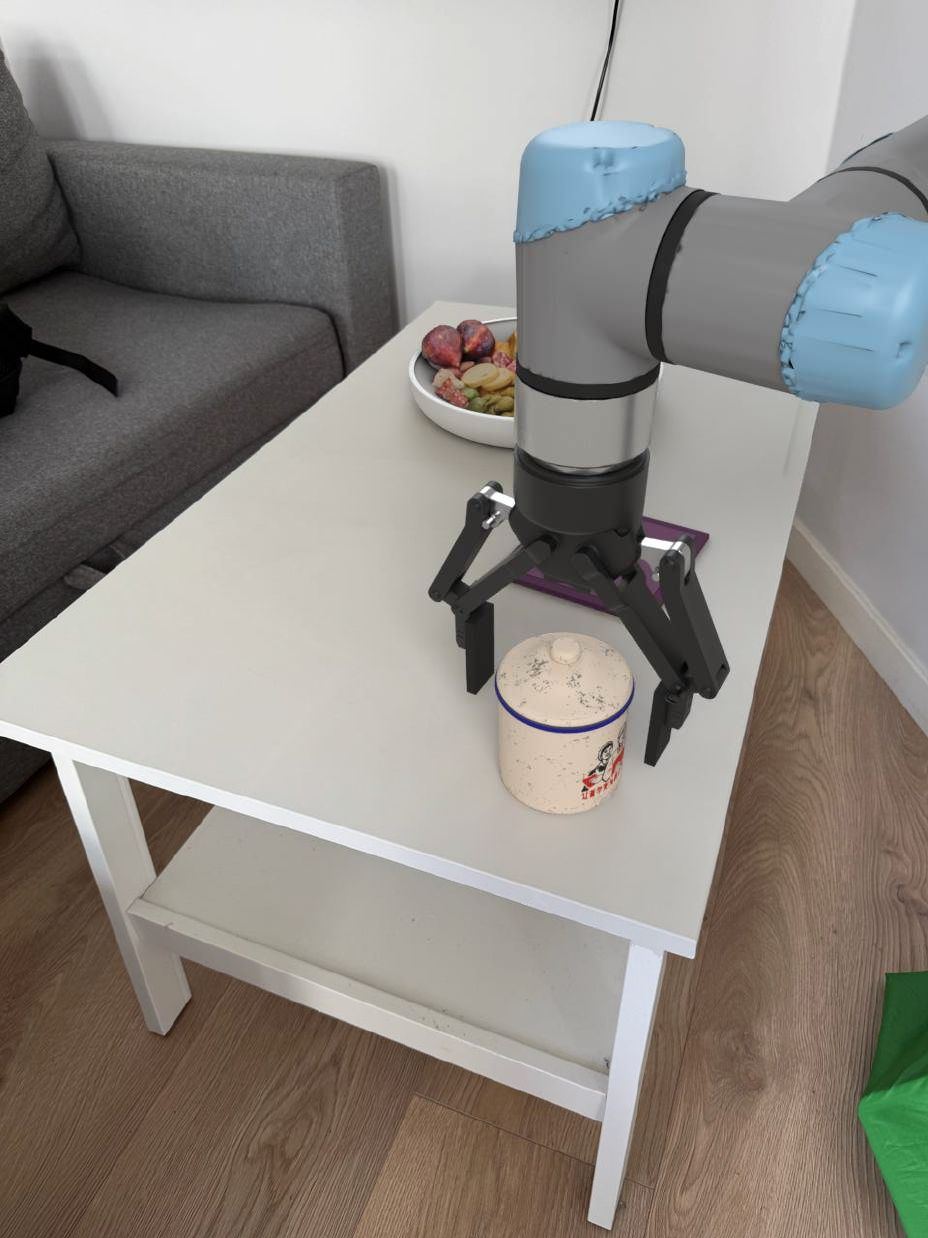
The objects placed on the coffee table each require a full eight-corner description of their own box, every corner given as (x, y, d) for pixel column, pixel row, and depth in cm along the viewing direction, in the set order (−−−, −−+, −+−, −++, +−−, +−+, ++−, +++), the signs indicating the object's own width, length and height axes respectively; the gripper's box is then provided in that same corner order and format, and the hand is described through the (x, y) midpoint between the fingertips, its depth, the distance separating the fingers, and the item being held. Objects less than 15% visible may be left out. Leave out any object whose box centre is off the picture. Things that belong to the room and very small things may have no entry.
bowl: (681, 367, 117) (689, 306, 112) (627, 480, 96) (633, 411, 91) (464, 341, 126) (461, 284, 121) (369, 440, 105) (362, 375, 100)
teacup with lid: (605, 836, 60) (617, 709, 53) (477, 798, 63) (472, 673, 56) (648, 715, 69) (663, 592, 62) (533, 687, 72) (535, 565, 64)
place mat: (709, 538, 87) (709, 533, 86) (648, 626, 77) (648, 620, 77) (566, 499, 93) (567, 494, 93) (493, 576, 83) (493, 570, 83)
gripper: (831, 467, 48) (758, 747, 61) (428, 371, 58) (442, 629, 71) (789, 538, 43) (720, 825, 56) (358, 420, 53) (387, 686, 66)
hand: (564, 716), depth 64 cm, fingers open, 13 cm apart
